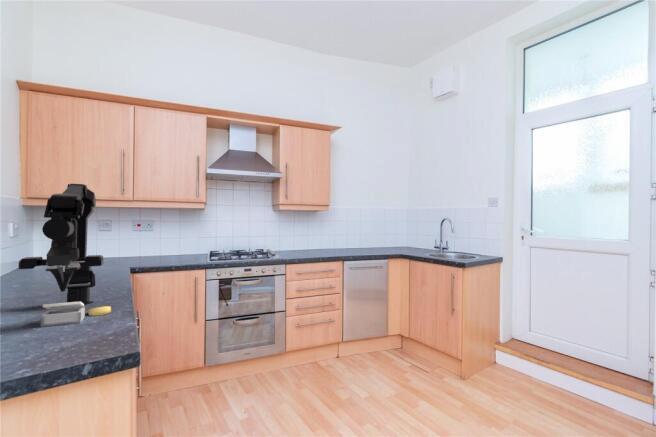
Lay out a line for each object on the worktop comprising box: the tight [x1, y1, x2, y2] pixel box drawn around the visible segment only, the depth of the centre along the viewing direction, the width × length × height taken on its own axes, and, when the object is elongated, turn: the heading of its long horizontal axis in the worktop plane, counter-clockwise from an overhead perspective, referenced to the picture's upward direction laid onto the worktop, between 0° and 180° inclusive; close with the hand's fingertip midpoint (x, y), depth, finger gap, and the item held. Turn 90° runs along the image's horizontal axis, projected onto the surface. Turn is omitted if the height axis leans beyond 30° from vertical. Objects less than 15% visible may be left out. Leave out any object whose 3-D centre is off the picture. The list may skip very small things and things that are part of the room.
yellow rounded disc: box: [88, 305, 112, 317], centre depth 107 cm, size 6×6×2 cm
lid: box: [42, 301, 85, 310], centre depth 98 cm, size 7×9×1 cm
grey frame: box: [40, 306, 86, 328], centre depth 97 cm, size 7×9×3 cm
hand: (63, 291), depth 96 cm, fingers closed
